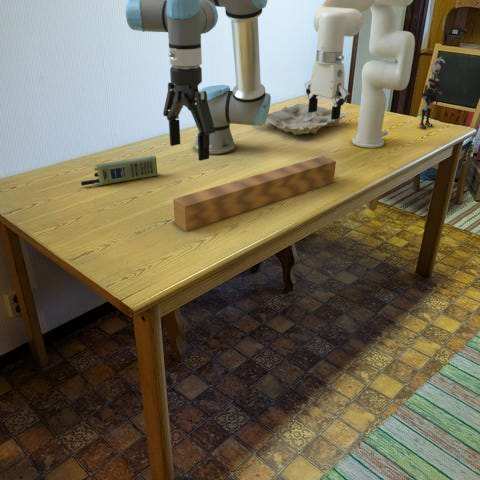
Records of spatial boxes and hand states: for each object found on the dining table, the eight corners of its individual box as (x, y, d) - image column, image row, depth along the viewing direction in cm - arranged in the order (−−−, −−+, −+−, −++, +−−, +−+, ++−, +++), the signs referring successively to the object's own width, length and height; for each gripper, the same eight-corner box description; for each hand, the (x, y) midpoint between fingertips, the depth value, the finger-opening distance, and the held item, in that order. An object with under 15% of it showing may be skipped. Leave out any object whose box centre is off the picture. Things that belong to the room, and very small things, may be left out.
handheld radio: (158, 176, 170) (83, 189, 160) (155, 173, 172) (80, 186, 162) (156, 157, 167) (79, 169, 157) (153, 154, 169) (77, 166, 159)
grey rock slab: (245, 130, 217) (303, 143, 199) (245, 116, 214) (304, 128, 197) (296, 115, 242) (351, 125, 225) (297, 102, 239) (353, 111, 222)
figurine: (421, 131, 217) (435, 58, 202) (409, 128, 221) (422, 56, 206) (438, 124, 226) (453, 54, 211) (426, 121, 230) (440, 52, 215)
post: (320, 176, 172) (322, 155, 168) (333, 182, 168) (336, 161, 164) (174, 222, 141) (173, 198, 137) (186, 231, 137) (185, 206, 133)
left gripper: (146, 59, 126) (152, 141, 137) (201, 77, 109) (204, 169, 120) (172, 56, 131) (176, 136, 141) (229, 73, 113) (229, 162, 124)
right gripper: (360, 60, 144) (353, 119, 152) (317, 51, 155) (312, 107, 164) (342, 63, 140) (336, 124, 148) (299, 54, 151) (295, 111, 160)
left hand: (189, 151), depth 130 cm, fingers open, 13 cm apart
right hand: (323, 115), depth 156 cm, fingers open, 9 cm apart
